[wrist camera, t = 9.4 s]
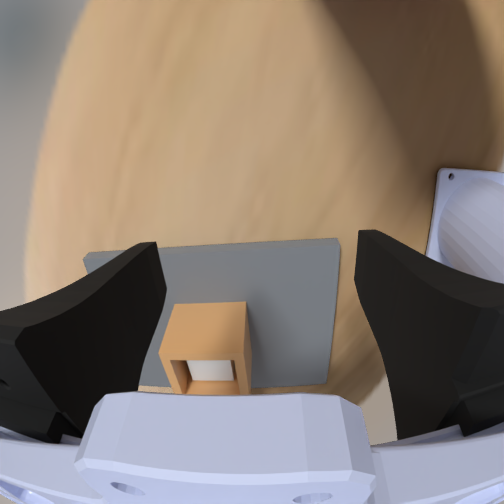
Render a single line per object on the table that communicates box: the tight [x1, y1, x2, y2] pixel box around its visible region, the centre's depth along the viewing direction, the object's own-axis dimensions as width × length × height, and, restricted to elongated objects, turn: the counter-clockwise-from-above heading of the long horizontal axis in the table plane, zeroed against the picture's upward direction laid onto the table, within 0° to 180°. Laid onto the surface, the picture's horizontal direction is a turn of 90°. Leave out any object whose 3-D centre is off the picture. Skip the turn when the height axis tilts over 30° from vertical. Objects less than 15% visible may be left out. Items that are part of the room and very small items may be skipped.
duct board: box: [83, 238, 340, 388], centre depth 23 cm, size 18×14×4 cm
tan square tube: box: [158, 302, 252, 395], centre depth 23 cm, size 9×5×5 cm, turn 4°
